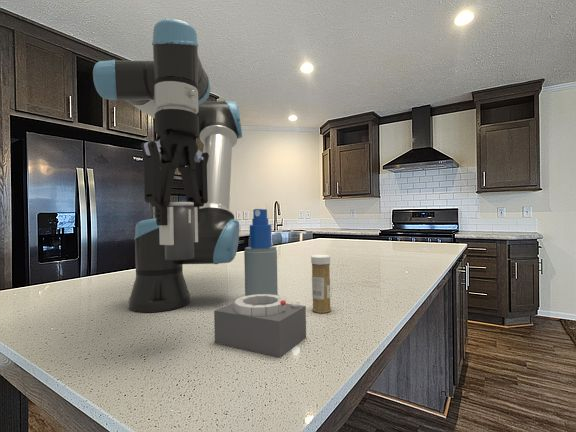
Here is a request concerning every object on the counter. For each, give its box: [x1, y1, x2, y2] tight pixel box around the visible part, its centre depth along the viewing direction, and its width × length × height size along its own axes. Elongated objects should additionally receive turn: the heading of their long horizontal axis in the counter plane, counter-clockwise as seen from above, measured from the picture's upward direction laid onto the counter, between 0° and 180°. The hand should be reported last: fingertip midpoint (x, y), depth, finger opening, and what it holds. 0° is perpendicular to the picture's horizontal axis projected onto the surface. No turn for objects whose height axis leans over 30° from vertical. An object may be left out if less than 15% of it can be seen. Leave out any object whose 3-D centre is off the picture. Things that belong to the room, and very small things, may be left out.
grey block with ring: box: [213, 294, 307, 358], centre depth 64 cm, size 14×10×8 cm
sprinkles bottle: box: [310, 254, 332, 314], centre depth 82 cm, size 5×5×13 cm
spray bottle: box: [243, 208, 279, 296], centre depth 92 cm, size 9×9×25 cm
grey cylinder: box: [165, 201, 194, 260], centre depth 60 cm, size 5×5×10 cm
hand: (179, 243), depth 61 cm, fingers closed on grey cylinder, 5 cm apart
